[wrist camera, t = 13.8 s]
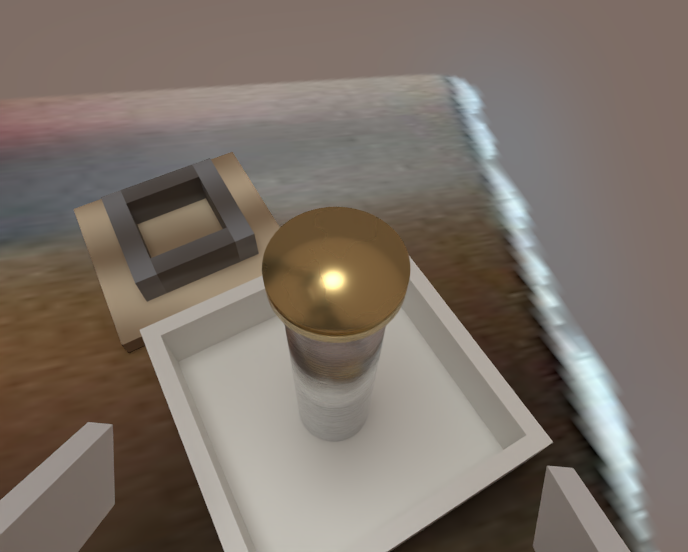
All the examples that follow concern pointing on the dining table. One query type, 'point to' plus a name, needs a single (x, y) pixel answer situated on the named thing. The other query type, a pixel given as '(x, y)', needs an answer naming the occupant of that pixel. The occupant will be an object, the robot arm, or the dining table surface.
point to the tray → (343, 456)
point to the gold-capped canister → (335, 309)
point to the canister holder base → (175, 242)
